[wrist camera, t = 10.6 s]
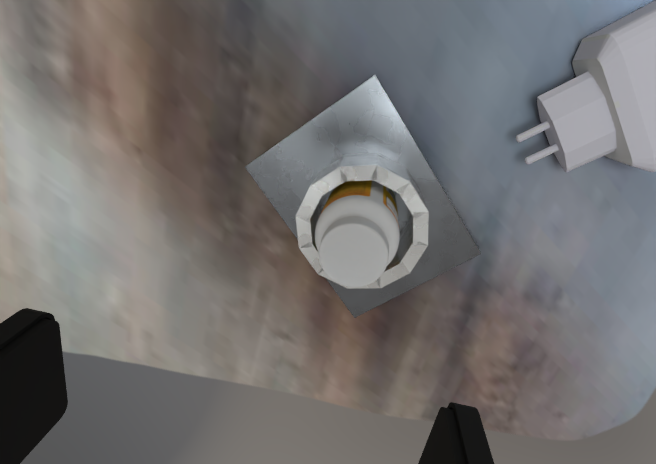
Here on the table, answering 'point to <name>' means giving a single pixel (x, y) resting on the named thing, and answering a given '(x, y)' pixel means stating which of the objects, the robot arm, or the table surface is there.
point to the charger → (605, 98)
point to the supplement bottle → (357, 232)
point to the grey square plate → (363, 165)
